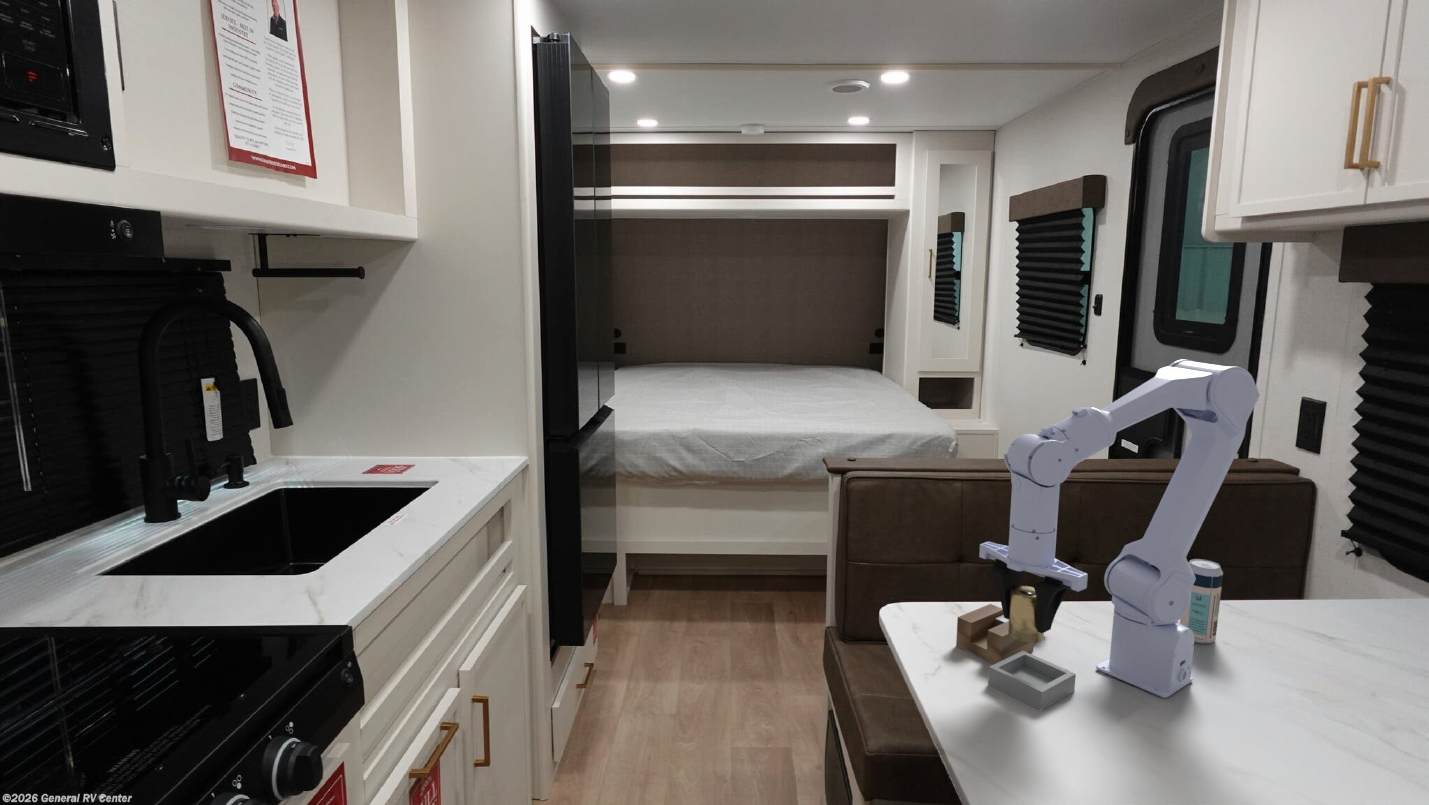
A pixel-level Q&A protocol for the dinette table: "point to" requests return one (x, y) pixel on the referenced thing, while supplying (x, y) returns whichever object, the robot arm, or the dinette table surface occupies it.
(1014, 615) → the pepper mill
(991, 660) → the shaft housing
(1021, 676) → the socket
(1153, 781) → the dinette table surface
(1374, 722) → the dinette table surface
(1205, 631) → the beer can
